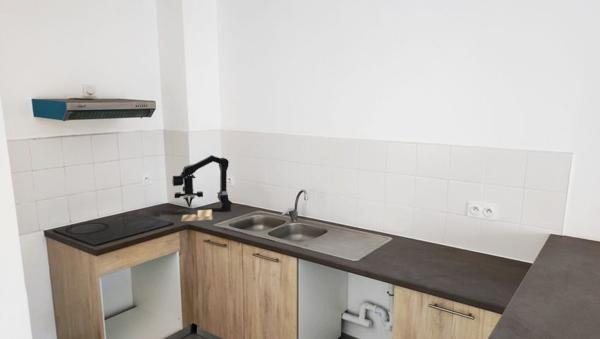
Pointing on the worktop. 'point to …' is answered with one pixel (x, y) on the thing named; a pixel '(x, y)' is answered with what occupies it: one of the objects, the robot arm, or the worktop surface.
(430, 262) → the worktop surface
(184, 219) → the floor strip
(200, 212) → the plank
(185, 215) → the plank
